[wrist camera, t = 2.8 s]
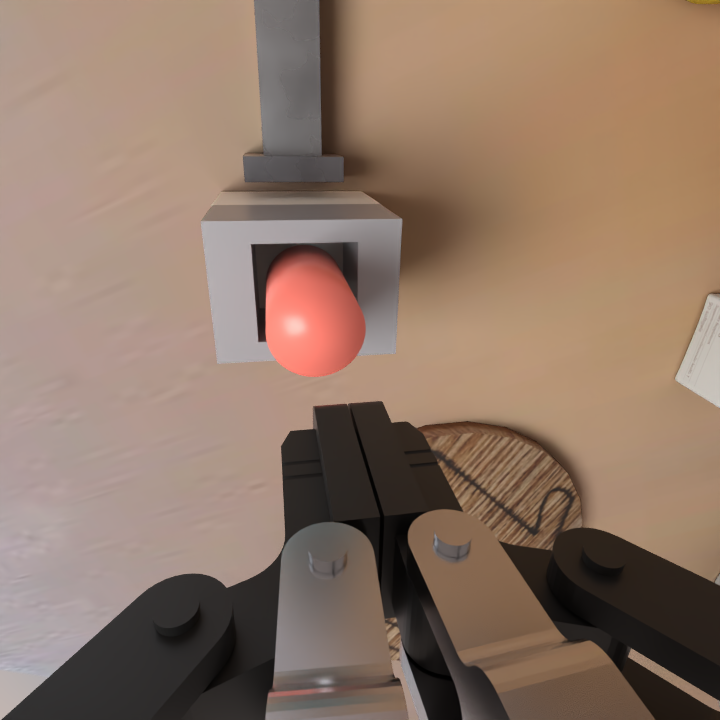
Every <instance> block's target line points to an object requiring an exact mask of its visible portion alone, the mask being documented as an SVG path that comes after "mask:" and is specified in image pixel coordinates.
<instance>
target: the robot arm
mask: <svg viewBox="0 0 720 720" xmlns="http://www.w3.org/2000/svg"><path fill="white" fill-rule="evenodd" d="M281 453H282V474H283V496H284V517H285V542H284V546H283V548H282V551H281V553H280V554H279V556H278V557H277V559H276V560H275V561H274V562H273V563H272V564H271V565H270V566H269V567H268V568H267V569H265V570H264V571H263V572H261V573H259V574H258V575H256V576H254V577H252V578H250V579H248V580H246V581H243V582H241V583H238V584H236V585H233V586H231V587H229V588H226V587H225V586H224V585H223V584H222V583H221V582H220V581H218V580H217V579H215V578H213V577H210V576H207V575H203V574H183V575H178V576H174V577H171V578H168V579H165V580H163V581H161V582H159V583H157V584H155V585H154V586H152V587H151V588H149V589H148V590H146V591H145V592H144V593H143V594H141V595H140V596H139V597H138V598H137V599H136V600H135V601H133V602H132V603H131V604H130V605H129V606H128V607H127V608H126V609H125V610H123V611H122V612H121V613H120V614H119V615H118V616H117V617H116V618H114V619H113V620H112V621H111V622H110V623H109V624H108V625H107V626H106V627H104V628H103V629H102V630H101V631H100V632H99V633H98V634H97V635H95V636H94V637H93V638H92V639H91V640H90V641H89V642H88V643H87V644H85V645H84V646H83V647H82V648H81V649H80V650H79V651H78V652H77V653H75V654H74V655H73V656H72V657H71V658H70V659H69V660H68V661H66V662H65V663H64V664H63V665H62V666H61V667H60V668H59V669H58V670H56V671H55V672H54V673H53V674H52V675H51V676H50V677H49V678H47V679H46V680H45V681H44V682H43V683H42V684H41V685H40V686H39V687H37V688H36V689H35V690H34V691H33V692H32V693H31V694H30V695H28V696H27V697H26V698H25V699H24V700H23V701H22V702H21V703H20V704H19V705H17V706H16V707H15V708H14V709H13V710H12V711H11V712H10V713H9V714H8V715H6V716H5V717H4V718H3V719H2V720H409V718H408V712H407V706H406V701H405V696H404V692H403V688H402V684H401V682H400V679H399V678H395V677H394V673H393V669H392V663H391V657H390V651H389V644H388V638H387V632H386V625H385V619H388V618H395V617H396V620H397V624H398V628H399V631H400V635H401V636H400V650H399V656H400V663H401V667H402V670H403V673H404V676H405V679H406V682H407V685H408V688H409V691H410V694H411V697H412V700H413V703H414V706H415V709H416V712H417V715H418V718H419V720H720V712H719V711H716V710H714V709H712V708H710V707H708V706H707V705H705V704H703V703H702V702H700V701H698V700H697V699H695V698H694V697H692V696H690V695H689V694H687V693H685V692H684V691H682V690H681V689H679V688H677V687H676V686H674V685H672V684H671V683H669V682H667V681H666V680H664V679H663V678H661V677H659V676H658V675H656V674H654V673H653V672H651V671H649V670H648V669H646V668H645V667H643V666H641V665H640V664H638V663H636V662H635V661H633V660H632V659H630V658H628V655H629V652H630V649H631V648H632V649H634V650H635V651H637V652H639V653H640V654H642V655H644V656H645V657H647V658H649V659H650V660H652V661H654V662H655V663H657V664H659V665H660V666H662V667H664V668H665V669H667V670H669V671H670V672H672V673H674V674H676V675H677V676H679V677H681V678H682V679H684V680H686V681H687V682H689V683H691V684H692V685H694V686H696V687H697V688H699V689H701V690H702V691H704V692H706V693H707V694H709V695H711V696H712V697H714V698H716V699H717V700H719V701H720V585H718V584H716V583H713V582H711V581H709V580H707V579H705V578H703V577H701V576H699V575H697V574H695V573H693V572H690V571H688V570H686V569H684V568H682V567H680V566H678V565H676V564H674V563H672V562H670V561H668V560H665V559H663V558H661V557H659V556H657V555H655V554H653V553H651V552H649V551H647V550H645V549H643V548H640V547H638V546H636V545H634V544H632V543H630V542H628V541H626V540H624V539H622V538H620V537H618V536H615V535H613V534H611V533H608V532H605V531H602V530H598V529H593V528H573V529H569V530H566V531H564V532H562V533H561V534H559V535H558V536H557V537H556V539H555V541H554V543H553V548H552V550H546V549H539V548H532V547H525V546H518V545H513V544H508V543H505V542H501V541H498V540H497V538H496V537H495V535H494V534H493V532H492V531H491V530H490V529H489V527H488V526H486V525H485V524H484V523H483V522H482V521H480V520H479V519H477V518H476V517H474V516H472V515H469V514H467V513H464V512H463V510H462V508H461V506H460V504H459V502H458V500H457V498H456V496H455V494H454V492H453V490H452V488H451V486H450V484H449V483H448V481H447V479H446V477H445V475H444V473H443V471H442V469H441V467H440V465H438V461H437V459H436V457H435V456H434V454H433V452H431V448H430V446H429V444H428V442H427V440H426V438H425V436H424V434H423V433H422V432H420V431H419V430H418V429H416V428H415V427H414V426H412V425H411V424H410V423H409V422H395V423H391V420H390V418H389V416H388V413H387V411H386V409H385V406H384V404H383V402H382V401H376V402H363V403H349V404H348V406H347V404H337V405H323V406H313V429H310V430H297V431H290V433H289V434H288V436H287V438H286V439H285V441H284V442H283V444H282V446H281Z"/></svg>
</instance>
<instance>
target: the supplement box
mask: <svg viewBox="0 0 720 720" xmlns="http://www.w3.org/2000/svg"><path fill="white" fill-rule="evenodd" d="M675 380H676V381H677V382H679V383H680V384H682V385H683V386H685V387H686V388H688V389H690V390H691V391H693V392H695V393H696V394H698V395H699V396H701V397H703V398H704V399H706V400H708V401H709V402H711V403H712V404H714V405H715V406H717V407H719V408H720V294H709V295H708V297H707V300H706V303H705V306H704V309H703V312H702V314H701V317H700V320H699V323H698V325H697V328H696V330H695V333H694V335H693V338H692V340H691V342H690V345H689V347H688V350H687V352H686V354H685V357H684V359H683V362H682V364H681V366H680V369H679V371H678V373H677V375H676V377H675Z"/></svg>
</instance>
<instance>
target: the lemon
mask: <svg viewBox="0 0 720 720" xmlns="http://www.w3.org/2000/svg"><path fill="white" fill-rule="evenodd" d="M686 1H689V2H691V3H695V4H719V3H720V0H686Z"/></svg>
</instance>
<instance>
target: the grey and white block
mask: <svg viewBox="0 0 720 720" xmlns="http://www.w3.org/2000/svg"><path fill="white" fill-rule="evenodd" d="M201 228H202V236H203V245H204V253H205V262H206V270H207V279H208V287H209V296H210V304H211V313H212V321H213V330H214V338H215V347H216V355H217V364H220V363H238V362H256V361H273V360H276V359H275V358H274V356H273V355H272V353H271V351H270V349H269V347H268V344H267V340H266V275H267V271H268V268H269V266H270V264H271V262H272V261H273V260H274V258H275V257H276V256H277V255H278V254H279V253H281V252H282V251H284V250H285V249H287V248H290V247H292V246H297V245H311V246H315V247H318V248H321V249H323V250H324V251H326V252H327V253H328V254H330V255H331V256H332V257H333V258H334V260H335V261H336V263H337V264H338V266H339V268H340V270H341V272H342V274H343V276H344V278H345V280H346V281H347V283H348V285H349V287H350V289H351V291H352V293H353V295H354V297H355V299H356V300H357V302H358V304H359V306H360V308H361V310H362V312H363V315H364V319H365V325H366V332H365V339H364V342H363V345H362V348H361V349H360V351H359V353H358V354H357V356H361V355H379V354H396V335H397V315H398V295H399V275H400V254H401V234H402V218H400V217H399V216H397V215H396V214H394V213H393V212H391V211H390V210H388V209H387V208H385V207H384V206H382V205H381V204H380V203H379V202H377V201H376V200H374V199H372V198H371V197H369V196H368V195H366V194H365V193H363V192H362V191H263V192H220V194H219V195H218V196H217V198H216V199H215V201H214V202H213V203H212V205H211V208H210V209H209V210H208V212H207V213H206V215H205V216H204V217H203V219H202V220H201Z"/></svg>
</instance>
